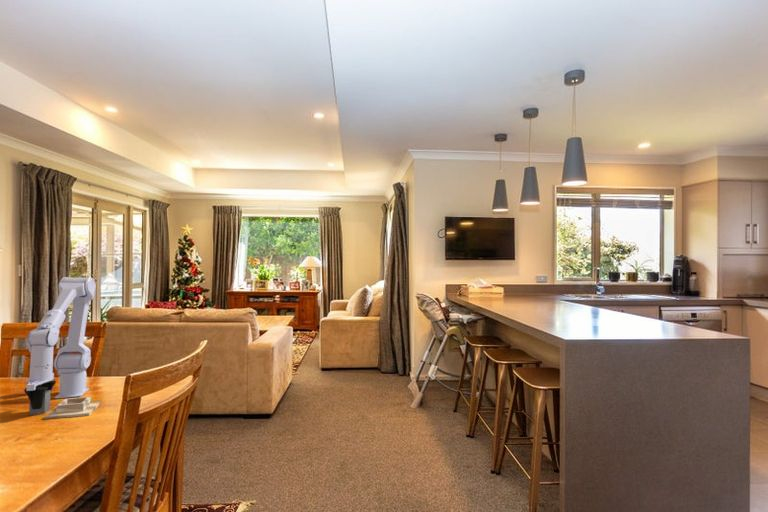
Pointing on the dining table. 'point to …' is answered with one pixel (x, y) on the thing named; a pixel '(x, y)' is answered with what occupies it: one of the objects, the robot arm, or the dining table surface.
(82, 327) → the robot arm
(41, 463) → the dining table surface
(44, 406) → the plug
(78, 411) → the holder box
